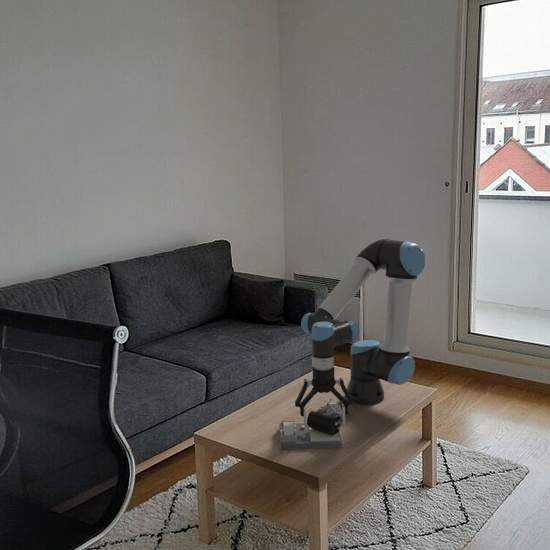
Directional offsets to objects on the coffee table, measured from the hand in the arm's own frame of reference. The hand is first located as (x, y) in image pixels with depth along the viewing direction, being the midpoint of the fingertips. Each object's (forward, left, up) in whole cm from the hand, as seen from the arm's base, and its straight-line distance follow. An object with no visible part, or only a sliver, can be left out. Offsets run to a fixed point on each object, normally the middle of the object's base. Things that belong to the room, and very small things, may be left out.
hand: (324, 423), depth 233 cm
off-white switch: (+13, +4, -2) cm, 13 cm away
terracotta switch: (+13, -3, -3) cm, 13 cm away
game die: (-4, -13, -5) cm, 15 cm away
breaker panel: (+5, 0, -5) cm, 7 cm away
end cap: (0, 0, -3) cm, 3 cm away
